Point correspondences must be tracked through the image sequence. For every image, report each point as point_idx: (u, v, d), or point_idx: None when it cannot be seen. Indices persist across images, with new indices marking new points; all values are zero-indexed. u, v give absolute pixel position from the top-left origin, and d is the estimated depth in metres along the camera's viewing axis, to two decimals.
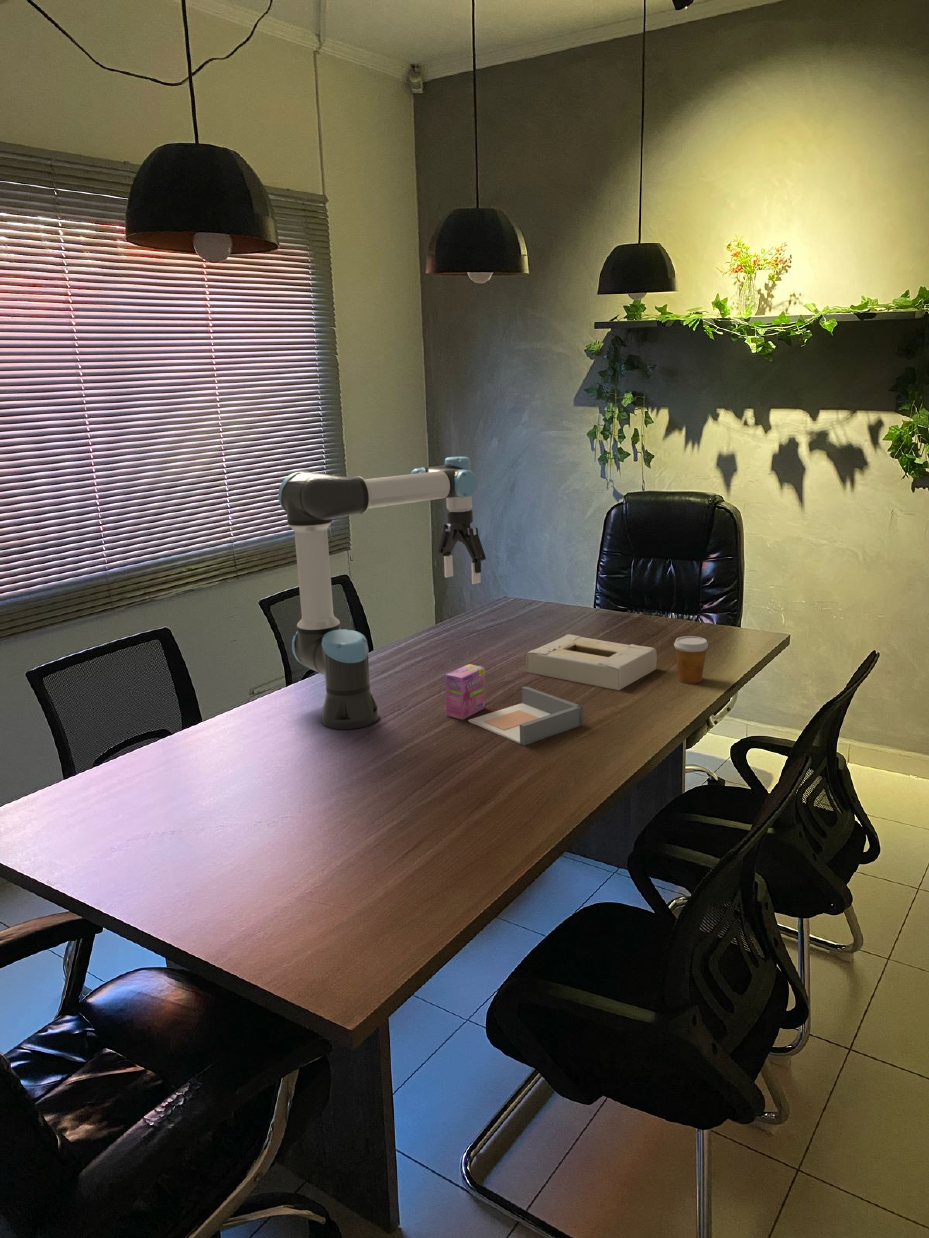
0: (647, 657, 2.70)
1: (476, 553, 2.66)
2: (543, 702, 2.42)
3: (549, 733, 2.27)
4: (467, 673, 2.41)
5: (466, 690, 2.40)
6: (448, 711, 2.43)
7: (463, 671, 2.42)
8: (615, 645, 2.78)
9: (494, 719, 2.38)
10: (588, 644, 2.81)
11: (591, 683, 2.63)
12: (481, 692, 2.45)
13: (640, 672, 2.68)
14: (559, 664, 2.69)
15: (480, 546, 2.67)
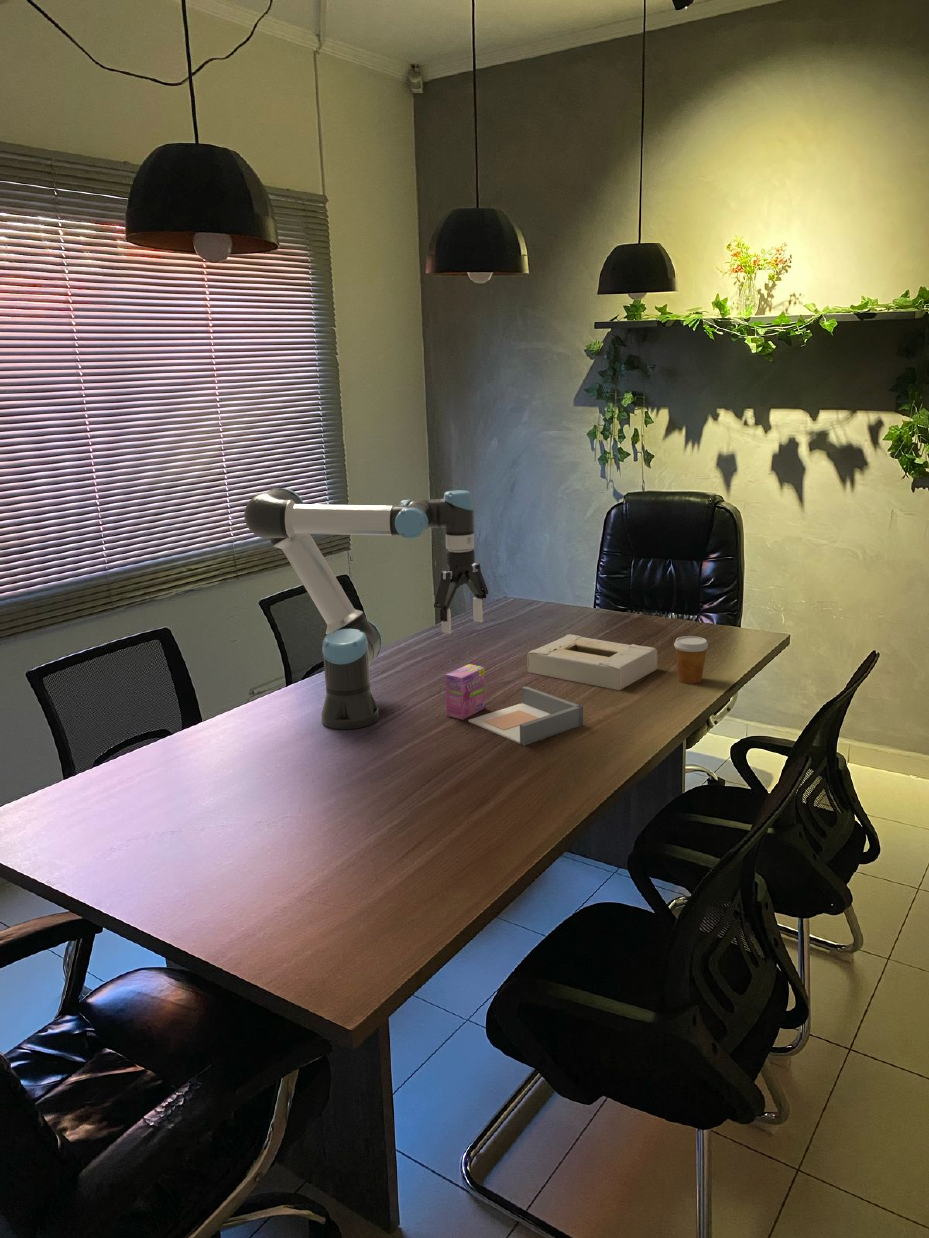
0: (648, 657, 2.70)
1: None
2: (543, 702, 2.42)
3: (549, 733, 2.27)
4: (467, 673, 2.41)
5: (466, 690, 2.40)
6: (448, 711, 2.43)
7: (463, 671, 2.42)
8: (616, 645, 2.78)
9: (494, 719, 2.38)
10: (589, 644, 2.81)
11: (592, 683, 2.63)
12: (481, 691, 2.45)
13: (641, 672, 2.67)
14: (559, 664, 2.69)
15: (442, 593, 2.38)
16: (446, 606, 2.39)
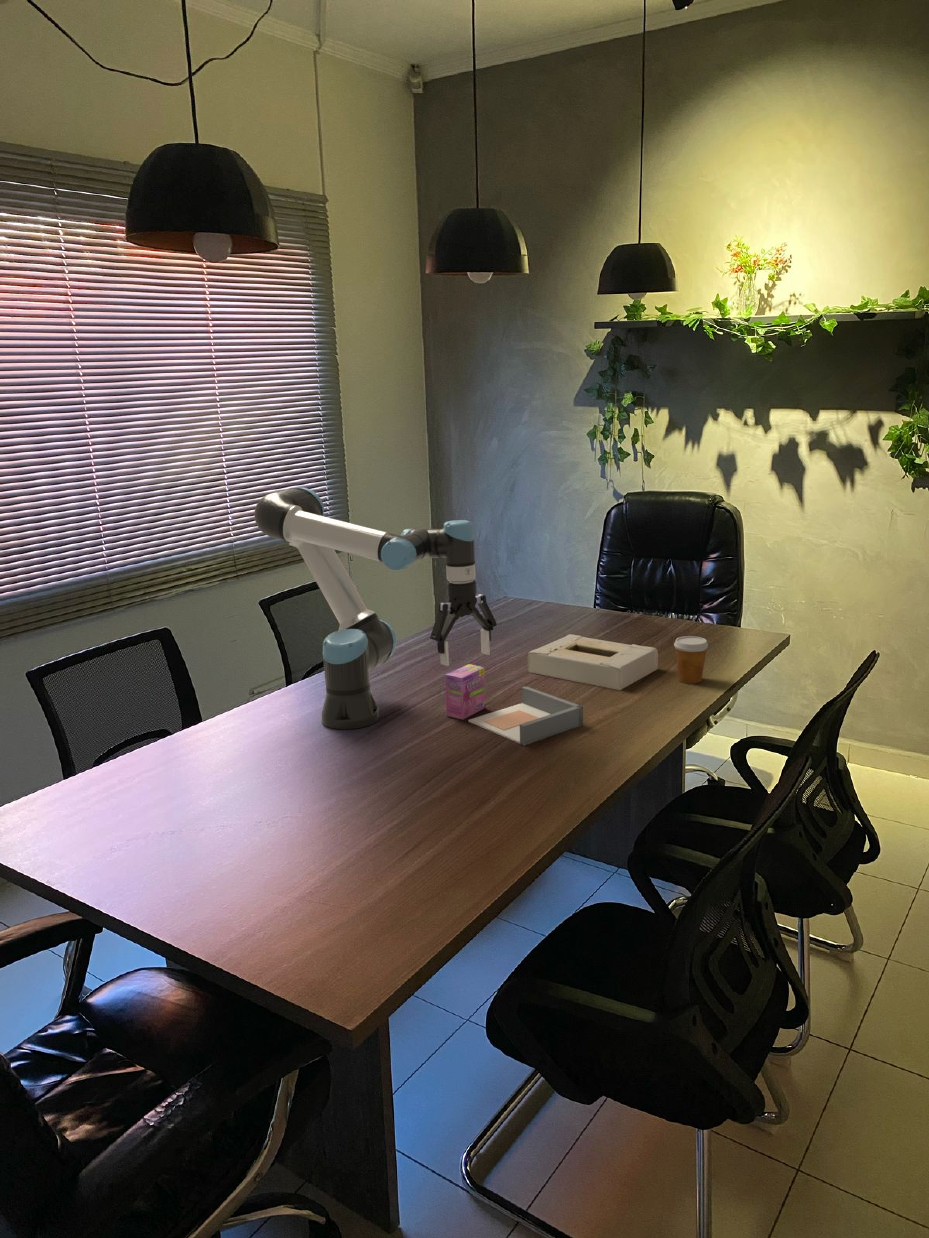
0: (649, 657, 2.70)
1: None
2: (543, 702, 2.42)
3: (549, 733, 2.27)
4: (467, 673, 2.41)
5: (466, 690, 2.40)
6: (448, 711, 2.43)
7: (463, 671, 2.42)
8: (616, 645, 2.78)
9: (494, 719, 2.38)
10: (590, 644, 2.81)
11: (592, 683, 2.63)
12: (481, 691, 2.45)
13: (641, 672, 2.67)
14: (560, 664, 2.69)
15: (438, 624, 2.34)
16: (442, 638, 2.35)
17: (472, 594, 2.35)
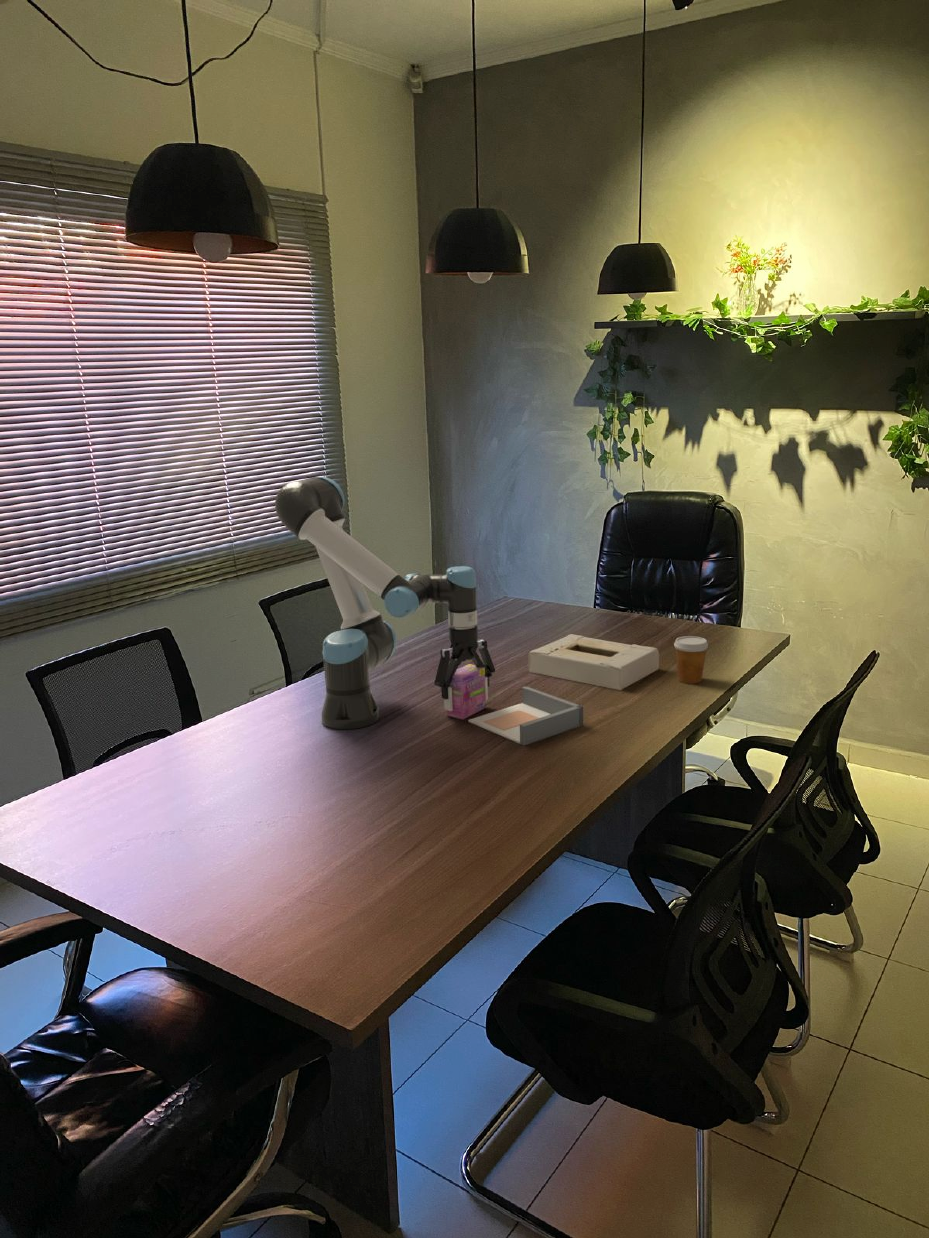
0: (649, 657, 2.70)
1: None
2: (543, 702, 2.42)
3: (549, 733, 2.27)
4: (467, 673, 2.41)
5: (466, 690, 2.40)
6: (448, 711, 2.43)
7: (463, 671, 2.42)
8: (617, 645, 2.78)
9: (494, 719, 2.38)
10: (590, 644, 2.81)
11: (593, 683, 2.64)
12: (481, 691, 2.45)
13: (642, 672, 2.67)
14: (560, 664, 2.69)
15: (441, 671, 2.37)
16: (446, 685, 2.38)
17: (473, 639, 2.38)
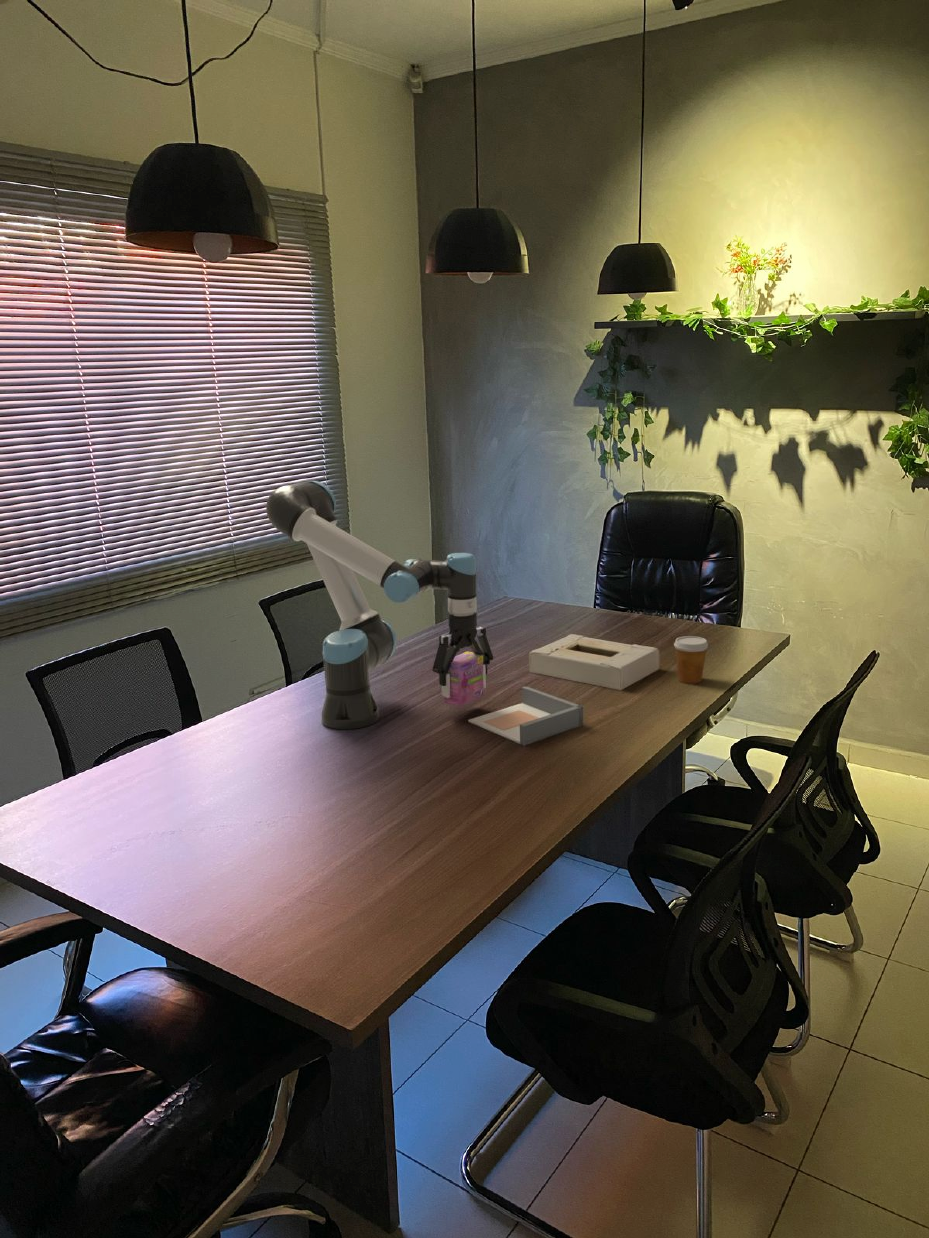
0: (650, 657, 2.70)
1: None
2: (543, 702, 2.42)
3: (549, 733, 2.27)
4: (465, 660, 2.40)
5: (464, 677, 2.39)
6: (445, 698, 2.42)
7: (462, 658, 2.42)
8: (618, 645, 2.78)
9: (494, 719, 2.38)
10: (591, 644, 2.81)
11: (593, 683, 2.64)
12: (479, 679, 2.45)
13: (643, 672, 2.67)
14: (561, 664, 2.69)
15: (439, 657, 2.36)
16: (444, 671, 2.38)
17: (473, 626, 2.37)
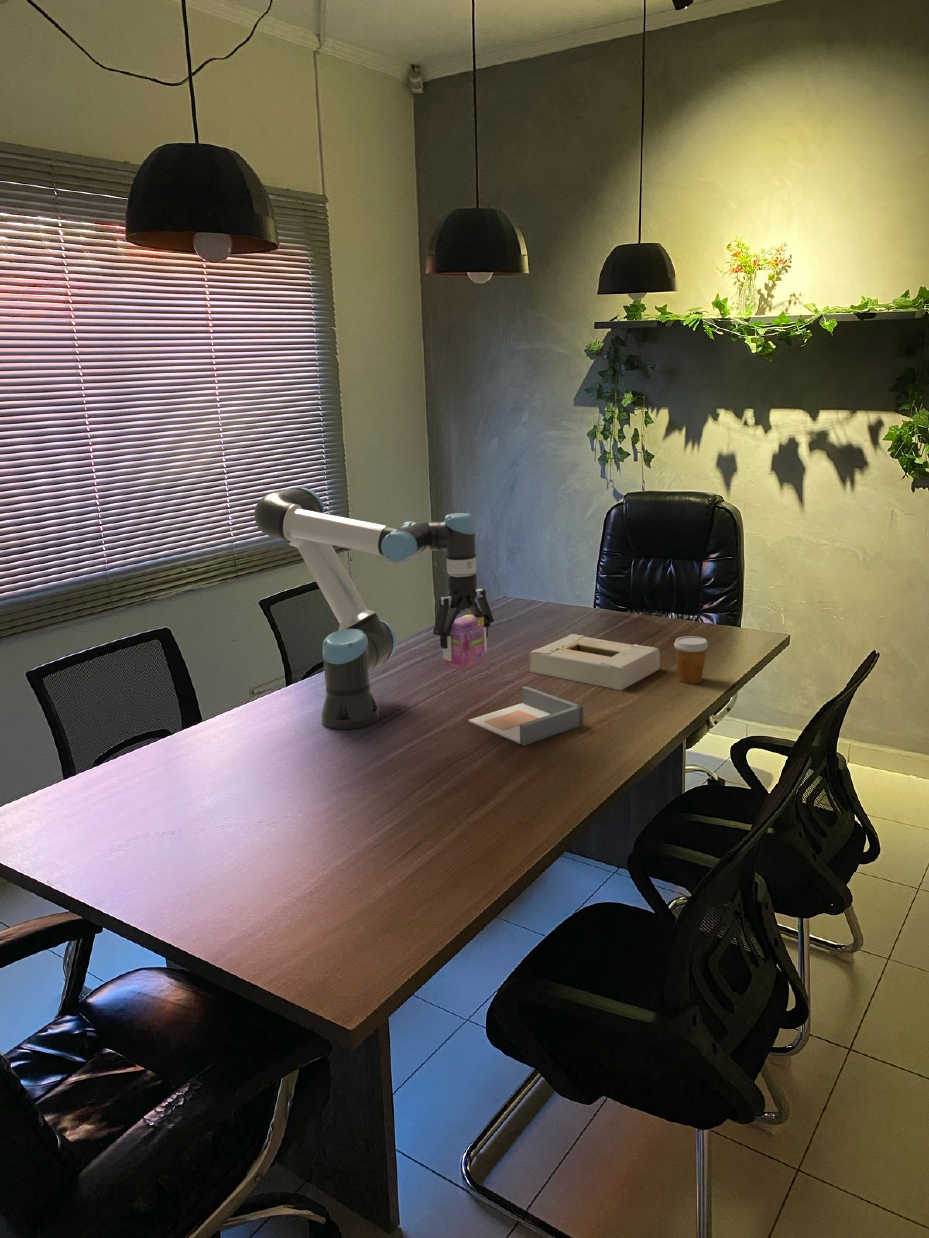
0: (650, 657, 2.70)
1: None
2: (543, 702, 2.42)
3: (549, 733, 2.27)
4: (466, 622, 2.37)
5: (466, 639, 2.36)
6: (447, 661, 2.39)
7: (462, 620, 2.39)
8: (618, 645, 2.78)
9: (494, 719, 2.38)
10: (591, 644, 2.81)
11: (593, 683, 2.64)
12: (480, 642, 2.42)
13: (643, 672, 2.67)
14: (561, 663, 2.69)
15: (440, 619, 2.33)
16: (445, 633, 2.35)
17: (473, 587, 2.34)
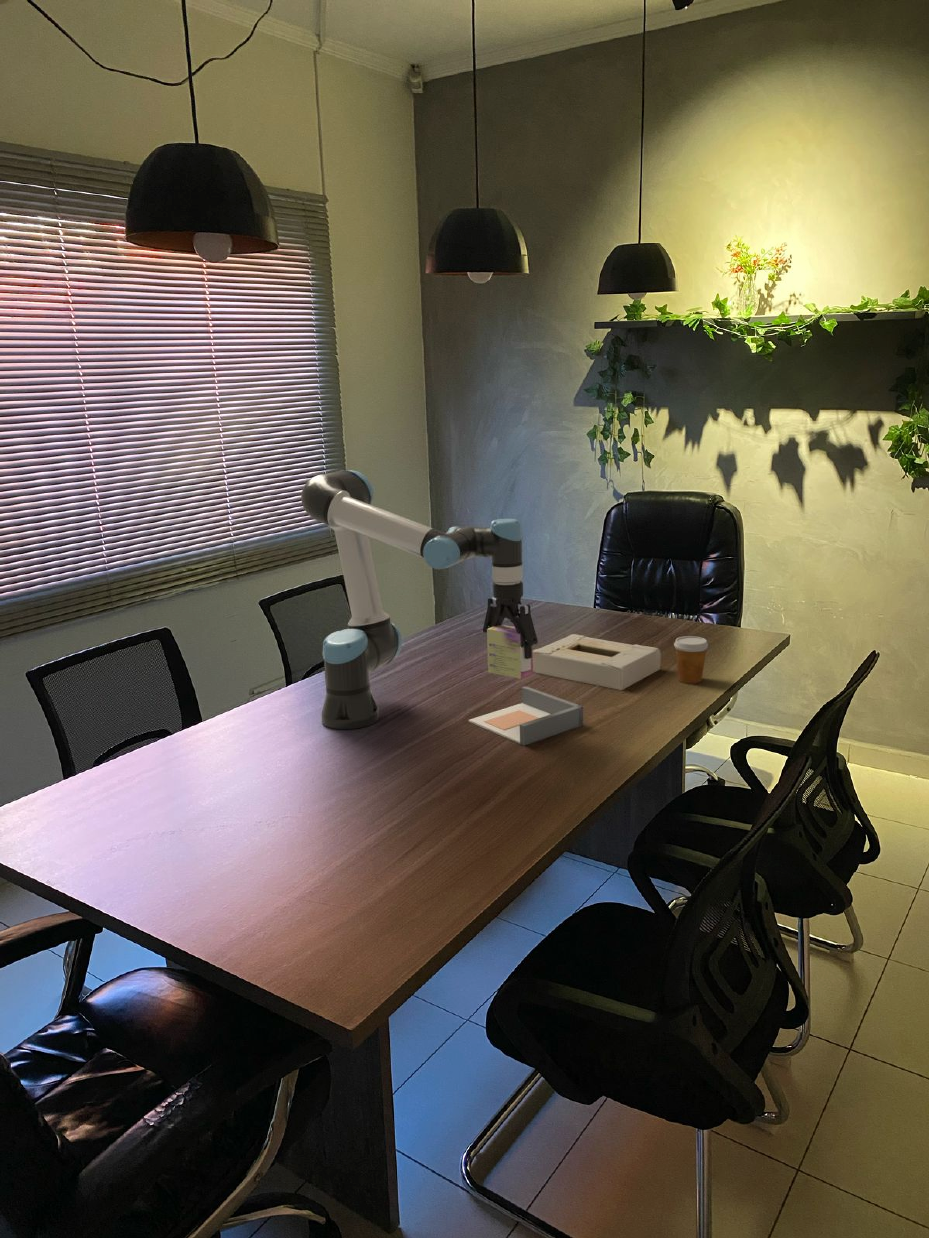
0: (651, 658, 2.70)
1: (527, 636, 2.24)
2: (543, 702, 2.42)
3: (549, 733, 2.27)
4: None
5: None
6: (522, 673, 2.29)
7: (511, 629, 2.31)
8: (619, 645, 2.78)
9: (494, 719, 2.38)
10: (592, 644, 2.81)
11: (594, 683, 2.64)
12: None
13: (643, 673, 2.67)
14: (562, 663, 2.69)
15: (532, 628, 2.25)
16: None
17: None
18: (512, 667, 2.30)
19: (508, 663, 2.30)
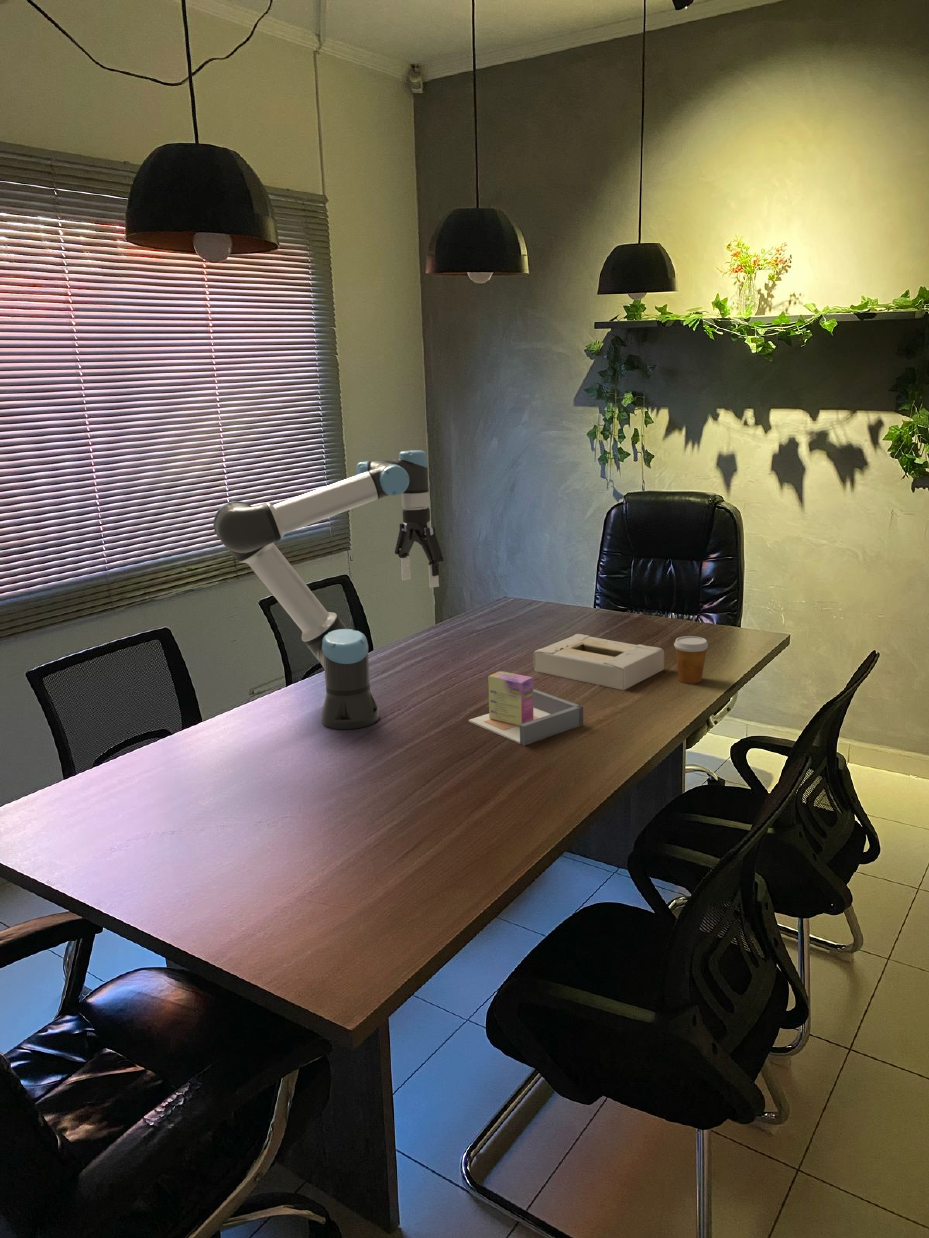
0: (654, 658, 2.70)
1: (433, 554, 2.46)
2: (543, 702, 2.42)
3: (549, 733, 2.27)
4: (519, 675, 2.35)
5: None
6: (523, 720, 2.32)
7: (512, 676, 2.34)
8: (623, 645, 2.78)
9: None
10: (596, 643, 2.81)
11: (596, 682, 2.64)
12: None
13: (647, 673, 2.67)
14: (565, 663, 2.70)
15: (437, 547, 2.47)
16: None
17: None
18: (513, 715, 2.33)
19: (509, 711, 2.33)
